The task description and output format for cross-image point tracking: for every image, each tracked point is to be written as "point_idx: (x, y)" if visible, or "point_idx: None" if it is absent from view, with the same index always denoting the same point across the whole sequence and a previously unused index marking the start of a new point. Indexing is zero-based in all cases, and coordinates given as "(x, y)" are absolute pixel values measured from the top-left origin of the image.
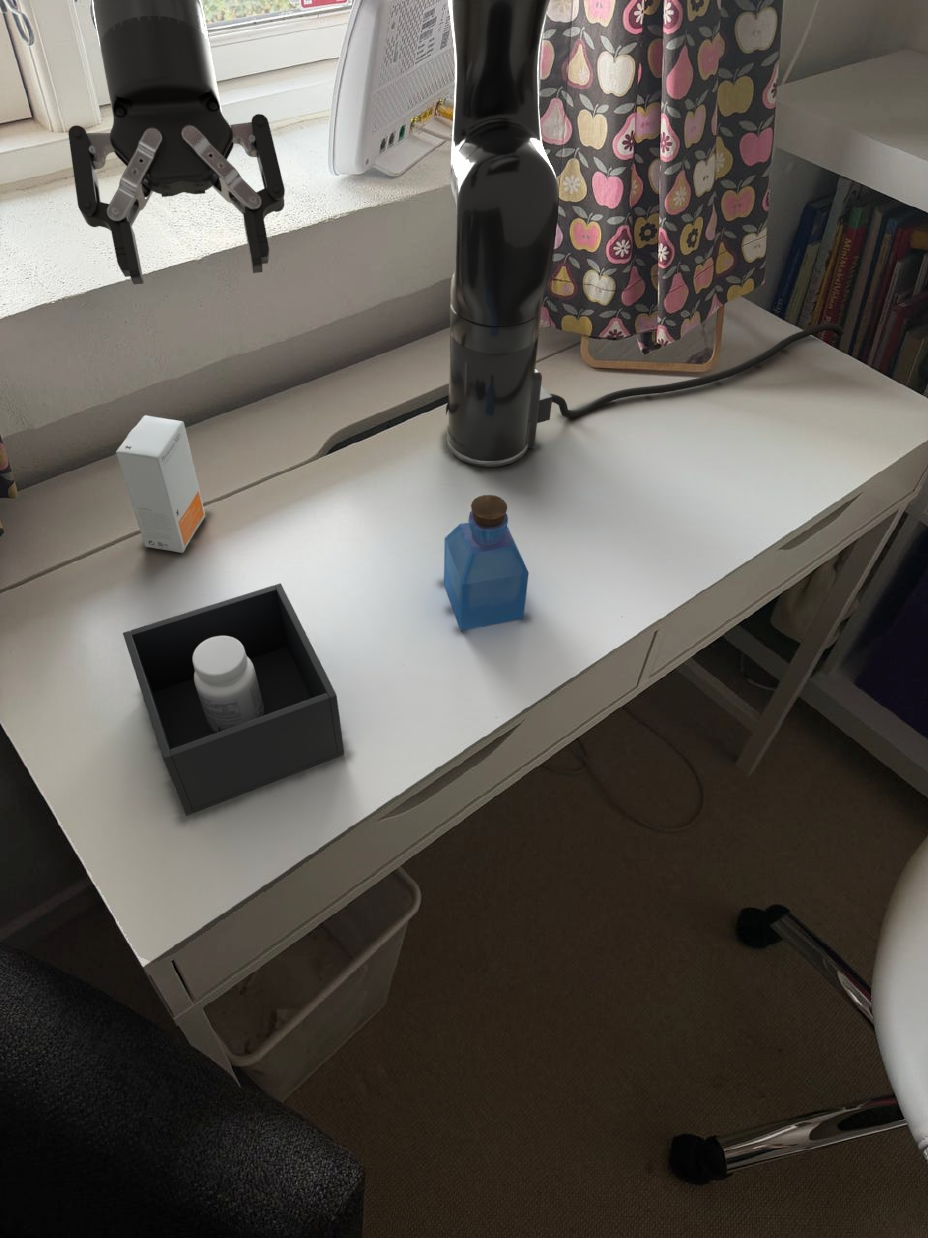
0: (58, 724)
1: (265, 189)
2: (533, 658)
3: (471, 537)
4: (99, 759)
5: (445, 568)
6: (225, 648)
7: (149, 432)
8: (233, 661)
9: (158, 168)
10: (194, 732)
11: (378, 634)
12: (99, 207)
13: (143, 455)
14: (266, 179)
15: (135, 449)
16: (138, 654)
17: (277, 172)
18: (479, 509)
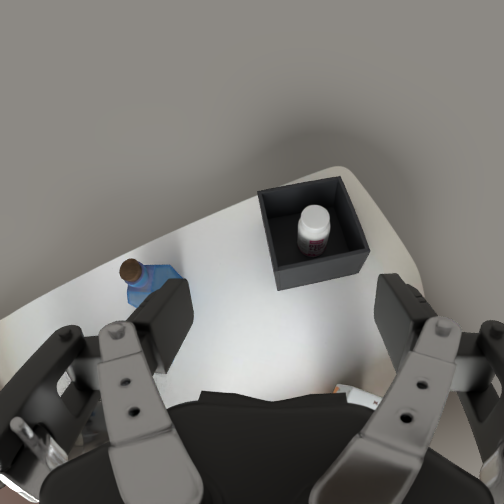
0: (397, 263)
1: (82, 356)
2: (159, 253)
3: (149, 278)
4: (376, 239)
5: None
6: (311, 219)
7: None
8: (307, 210)
9: (341, 427)
10: (333, 240)
11: (227, 287)
12: (474, 348)
13: (364, 391)
14: (64, 350)
15: (370, 399)
16: (360, 241)
17: (39, 352)
18: (135, 267)
